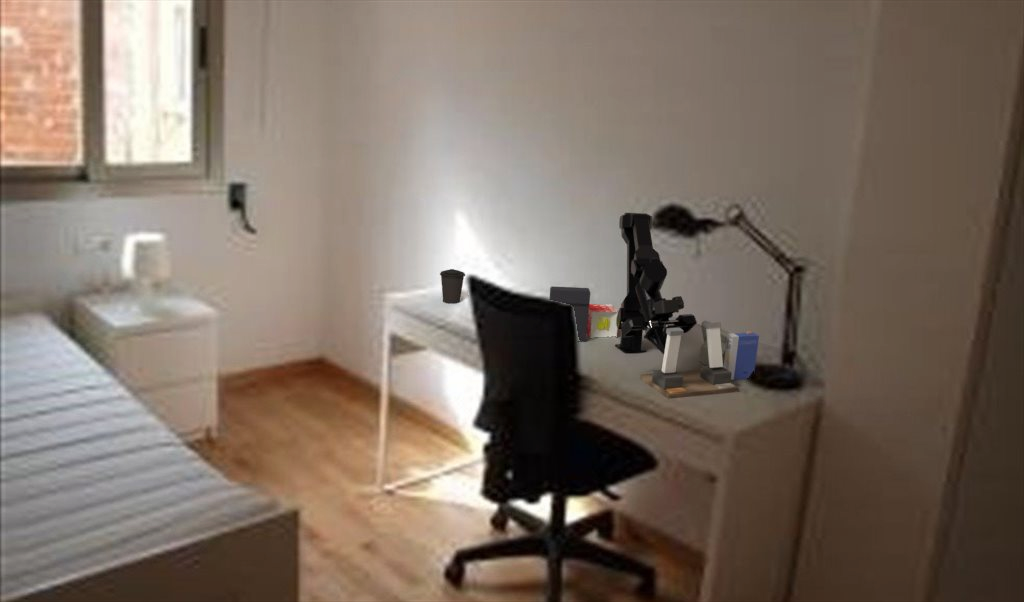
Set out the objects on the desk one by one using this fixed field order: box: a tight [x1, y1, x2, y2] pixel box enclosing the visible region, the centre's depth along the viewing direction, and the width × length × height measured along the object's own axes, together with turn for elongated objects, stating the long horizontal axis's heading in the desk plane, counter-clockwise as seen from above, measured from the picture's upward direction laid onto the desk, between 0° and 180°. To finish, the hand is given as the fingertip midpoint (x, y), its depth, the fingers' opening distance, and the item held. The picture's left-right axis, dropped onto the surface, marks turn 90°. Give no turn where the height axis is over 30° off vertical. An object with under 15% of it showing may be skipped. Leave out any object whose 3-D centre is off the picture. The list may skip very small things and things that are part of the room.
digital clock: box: [698, 320, 734, 368], centre depth 254 cm, size 16×9×11 cm, turn 13°
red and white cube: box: [587, 303, 619, 339], centre depth 276 cm, size 8×8×8 cm
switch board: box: [639, 365, 740, 399], centre depth 238 cm, size 14×20×4 cm
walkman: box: [724, 331, 760, 380], centre depth 245 cm, size 8×3×12 cm, turn 107°
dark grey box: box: [548, 285, 591, 343], centre depth 268 cm, size 11×4×15 cm, turn 92°
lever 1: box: [661, 328, 684, 373], centre depth 232 cm, size 2×4×11 cm, turn 112°
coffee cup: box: [439, 268, 466, 305], centre depth 300 cm, size 8×8×10 cm
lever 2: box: [704, 321, 723, 368], centre depth 240 cm, size 2×4×11 cm, turn 111°
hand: (668, 356), depth 233 cm, fingers closed, pressing on lever 1
